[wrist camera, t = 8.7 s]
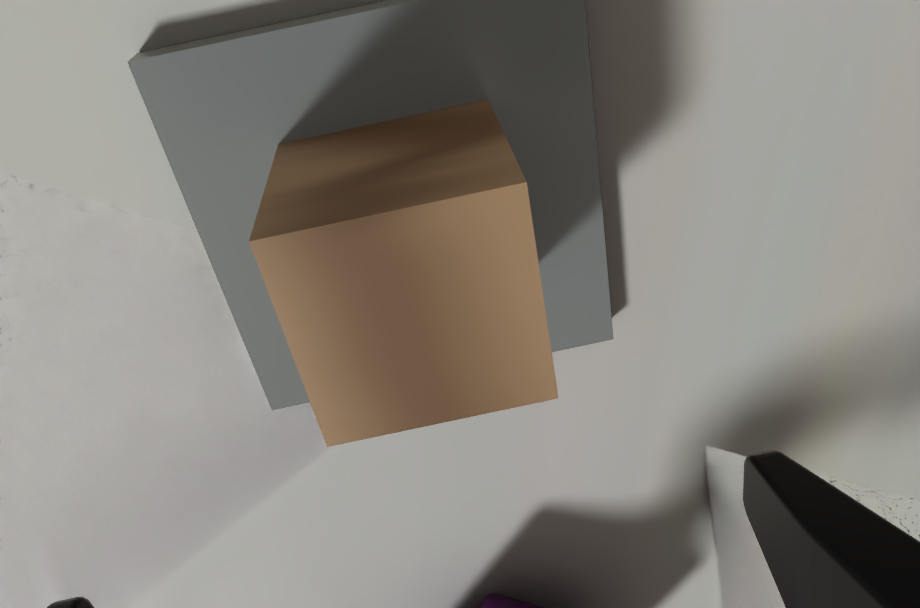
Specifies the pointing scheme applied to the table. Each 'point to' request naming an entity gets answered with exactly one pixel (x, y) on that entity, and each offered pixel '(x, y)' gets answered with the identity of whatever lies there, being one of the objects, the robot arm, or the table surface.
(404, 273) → the walnut cube
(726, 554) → the table surface
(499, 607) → the perfume bottle
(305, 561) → the table surface
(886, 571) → the robot arm
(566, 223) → the slate coaster
